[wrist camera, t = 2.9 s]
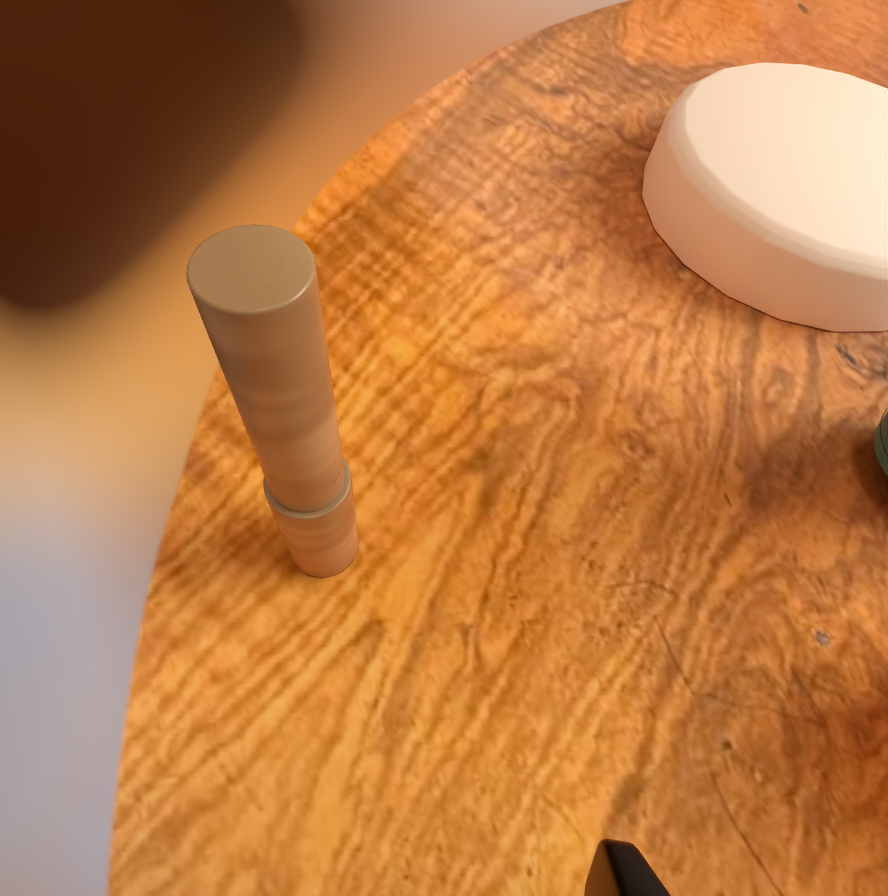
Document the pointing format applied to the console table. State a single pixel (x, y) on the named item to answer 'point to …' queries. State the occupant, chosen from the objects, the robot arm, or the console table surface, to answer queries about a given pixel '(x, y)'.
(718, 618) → the console table surface
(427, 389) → the console table surface
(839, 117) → the container
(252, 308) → the tan pestle
